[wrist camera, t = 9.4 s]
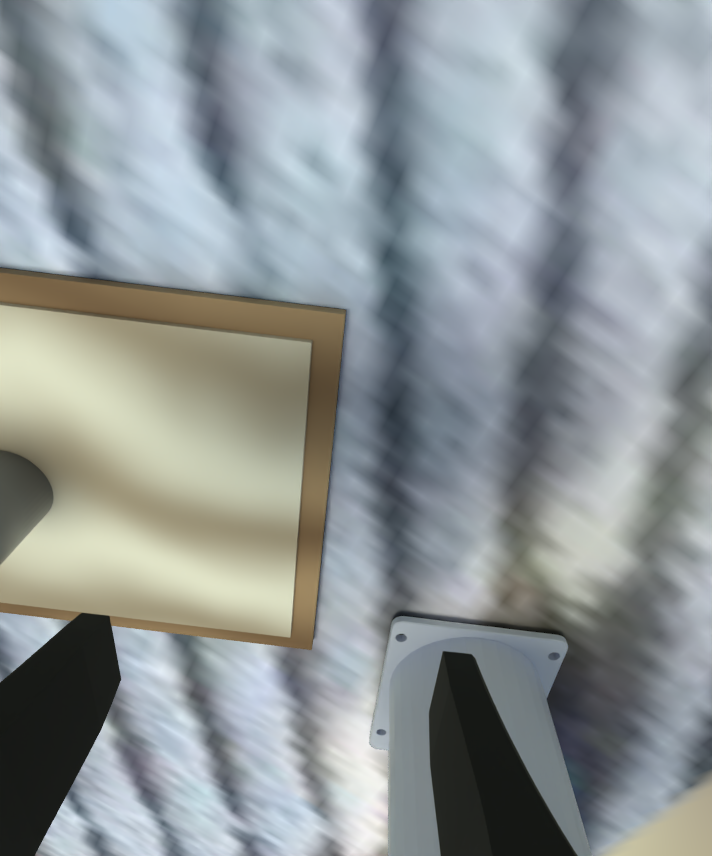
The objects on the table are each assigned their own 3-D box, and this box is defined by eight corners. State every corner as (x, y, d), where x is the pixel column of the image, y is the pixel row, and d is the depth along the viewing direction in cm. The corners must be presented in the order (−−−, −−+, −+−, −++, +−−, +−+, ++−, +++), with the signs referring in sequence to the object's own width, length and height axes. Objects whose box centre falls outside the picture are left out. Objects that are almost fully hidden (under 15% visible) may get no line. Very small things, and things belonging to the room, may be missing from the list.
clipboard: (313, 639, 25) (309, 662, 24) (-92, 590, 25) (-116, 611, 24) (346, 309, 18) (343, 320, 17) (-228, 239, 18) (-271, 245, 17)
